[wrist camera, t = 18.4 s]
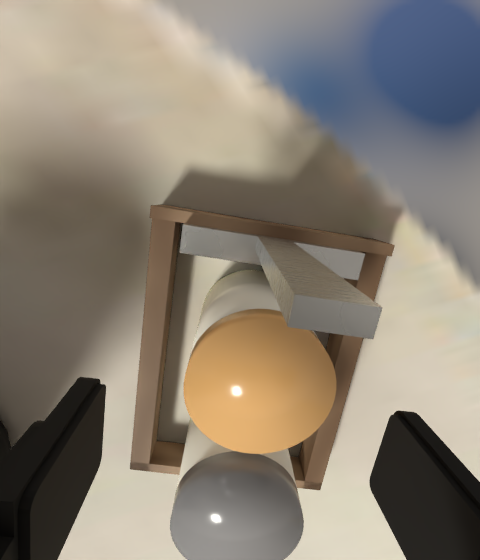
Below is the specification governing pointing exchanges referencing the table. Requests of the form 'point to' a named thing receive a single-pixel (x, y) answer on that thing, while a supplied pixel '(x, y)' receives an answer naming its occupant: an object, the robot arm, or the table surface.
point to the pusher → (297, 278)
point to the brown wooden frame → (156, 329)
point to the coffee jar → (4, 442)
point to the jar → (255, 370)
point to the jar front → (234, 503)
